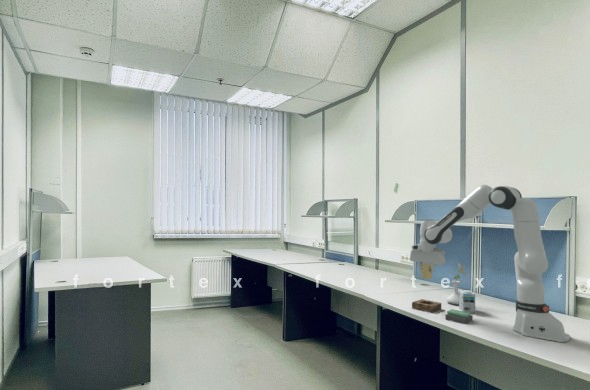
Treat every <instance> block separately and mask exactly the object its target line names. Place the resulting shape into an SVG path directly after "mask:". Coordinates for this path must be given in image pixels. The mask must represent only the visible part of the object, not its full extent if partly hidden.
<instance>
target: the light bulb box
mask: <svg viewBox="0 0 590 390" xmlns="http://www.w3.org/2000/svg"><path fill="white" fill-rule="evenodd" d="M458 294H459V305H458V306H459V310H460V311H463V312H468V313H471V314H476V294H475V293H474V292H473V291H471V290H469V289H468V290H465V289H458Z"/></svg>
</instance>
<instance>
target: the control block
mask: <svg viewBox="0 0 590 390" xmlns="http://www.w3.org/2000/svg"><path fill="white" fill-rule="evenodd" d="M473 319H474V316H473V315H472V314H471V316H469V317H462V316H457V315H452V314H448V313H446V314H445V320H447V321H451V322H455V323H459V324H464V325H465V324H468V323H471V321H473Z"/></svg>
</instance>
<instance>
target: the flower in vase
mask: <svg viewBox="0 0 590 390" xmlns="http://www.w3.org/2000/svg"><path fill="white" fill-rule="evenodd" d="M457 267H458V271H457V273H456V275H455V276H454V277H453V279H455V280H451V283H452V284H453V293H452V294H450V295H449V296H448V297H446V299H445V301H446V302H447V303H449V304H452V305H458V306H459V285H460V283H461V281H460V280H457V279H461V277H460V275H459V273H460V272H461V273H462V275H464V276H465V275H466V272H465V269H464V268H463V265H461V263H460V262H458V263H457Z"/></svg>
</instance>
